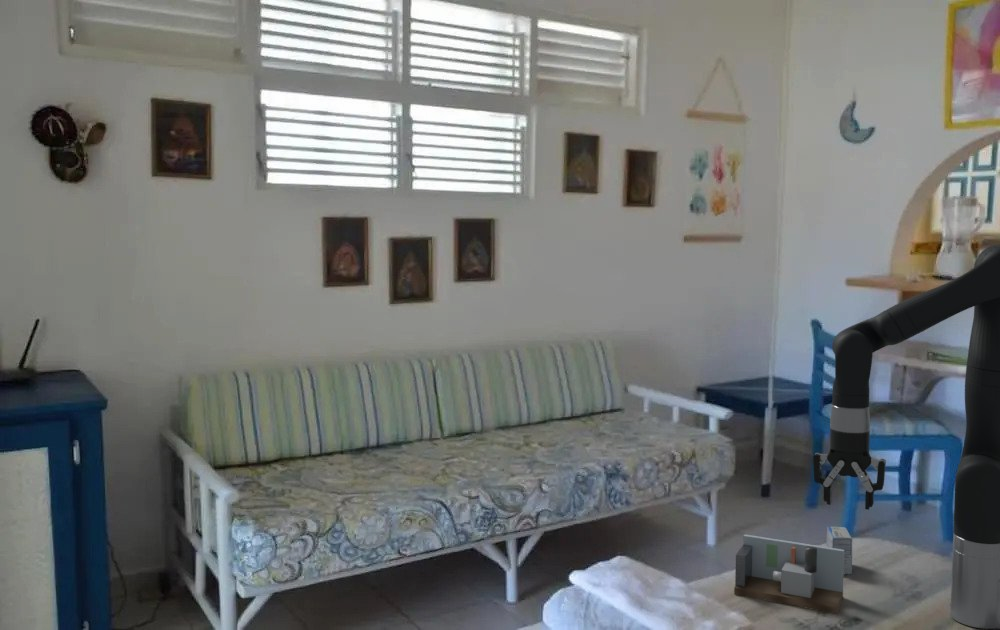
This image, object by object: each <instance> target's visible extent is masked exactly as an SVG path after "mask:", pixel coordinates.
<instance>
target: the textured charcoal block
mask: <svg viewBox="0 0 1000 630" xmlns="http://www.w3.org/2000/svg"><path fill="white" fill-rule="evenodd" d="M751 577H752V546H749V545H741V547H740V548H739V550H738V551H737V552H736V554H735V578H734V579H735V585H734V587H735V586H738V587H744V588H745V586H746V585H747V583H748V582H749V580H750V578H751Z"/></svg>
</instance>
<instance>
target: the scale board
mask: <svg viewBox="0 0 1000 630" xmlns="http://www.w3.org/2000/svg"><path fill="white" fill-rule="evenodd" d="M742 543H743V545H749V546H752V576H754V577H759V578H765V579H770V580H773V573H774V571H778V572H781V570H782V568H783V566H784V565H785V563H786V562H788V563H791V548H792V547H796V564H800V565H805V547H806V546H813V547H816V548H817V572H815V582H814V587H816V588H821V589H827V590H832V591H838V592H843V593H844V576H845V574H844V550H842V549H836V548H829V547H827V546H823V545H816V544H815V545H814V544H808V543H802V542H797V541H790V540H785V539H776V538H770V537H765V536H757V535H751V534H743V542H742ZM743 545H742V546H743Z"/></svg>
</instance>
